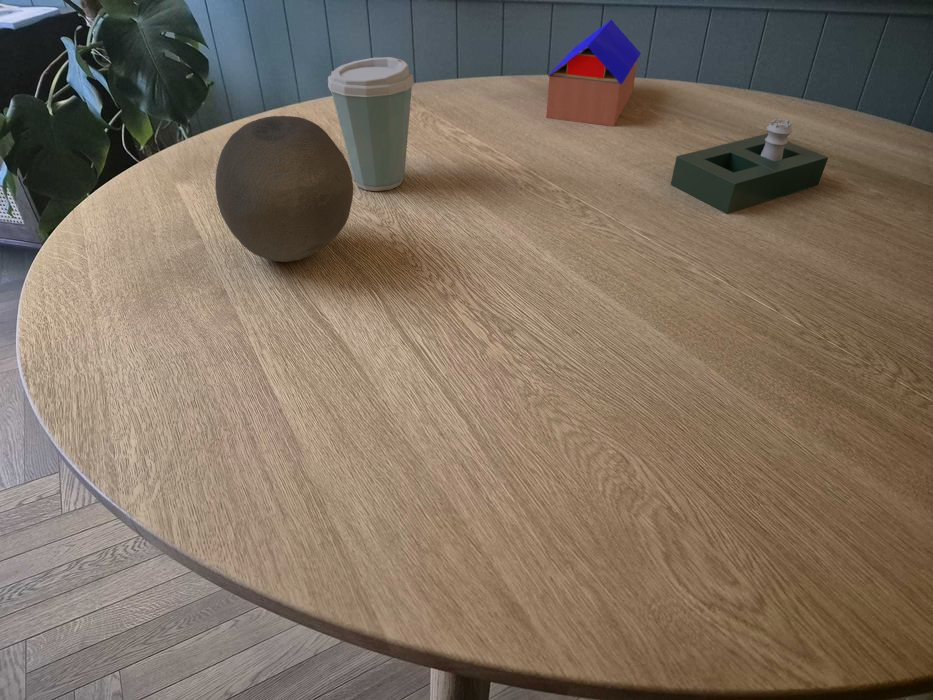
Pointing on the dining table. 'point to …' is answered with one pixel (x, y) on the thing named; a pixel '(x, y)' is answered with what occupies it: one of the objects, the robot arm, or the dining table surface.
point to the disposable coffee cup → (374, 118)
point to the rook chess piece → (776, 139)
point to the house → (594, 79)
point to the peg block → (746, 173)
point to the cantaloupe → (283, 187)
